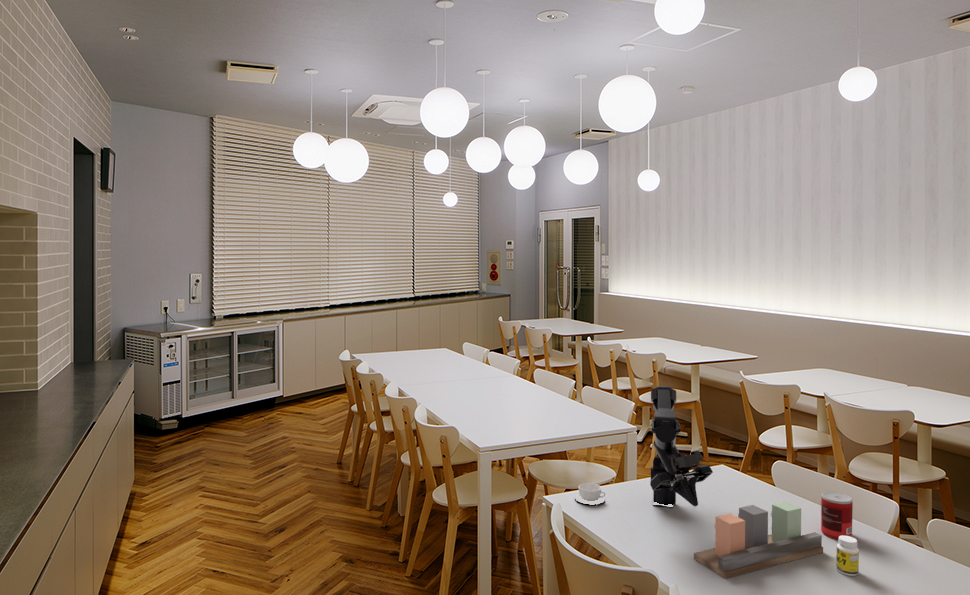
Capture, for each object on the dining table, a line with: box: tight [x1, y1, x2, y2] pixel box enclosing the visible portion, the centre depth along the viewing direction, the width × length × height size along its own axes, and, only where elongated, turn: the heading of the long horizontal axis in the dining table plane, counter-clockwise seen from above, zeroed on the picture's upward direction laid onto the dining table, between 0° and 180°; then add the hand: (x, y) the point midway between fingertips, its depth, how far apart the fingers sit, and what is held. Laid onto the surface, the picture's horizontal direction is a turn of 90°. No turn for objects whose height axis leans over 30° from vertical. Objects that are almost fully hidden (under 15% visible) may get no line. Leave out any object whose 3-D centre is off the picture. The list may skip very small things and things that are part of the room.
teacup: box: [578, 482, 606, 501], centre depth 193 cm, size 10×10×5 cm
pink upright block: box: [714, 513, 745, 556], centre depth 151 cm, size 6×5×10 cm
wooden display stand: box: [693, 532, 824, 580], centre depth 154 cm, size 11×34×4 cm, turn 112°
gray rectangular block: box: [737, 504, 769, 549], centre depth 156 cm, size 6×5×10 cm
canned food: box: [820, 491, 854, 540], centre depth 166 cm, size 8×8×11 cm
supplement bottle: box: [835, 535, 860, 577], centre depth 145 cm, size 5×5×8 cm
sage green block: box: [770, 501, 802, 542], centre depth 158 cm, size 6×5×10 cm
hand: (696, 505), depth 162 cm, fingers closed
